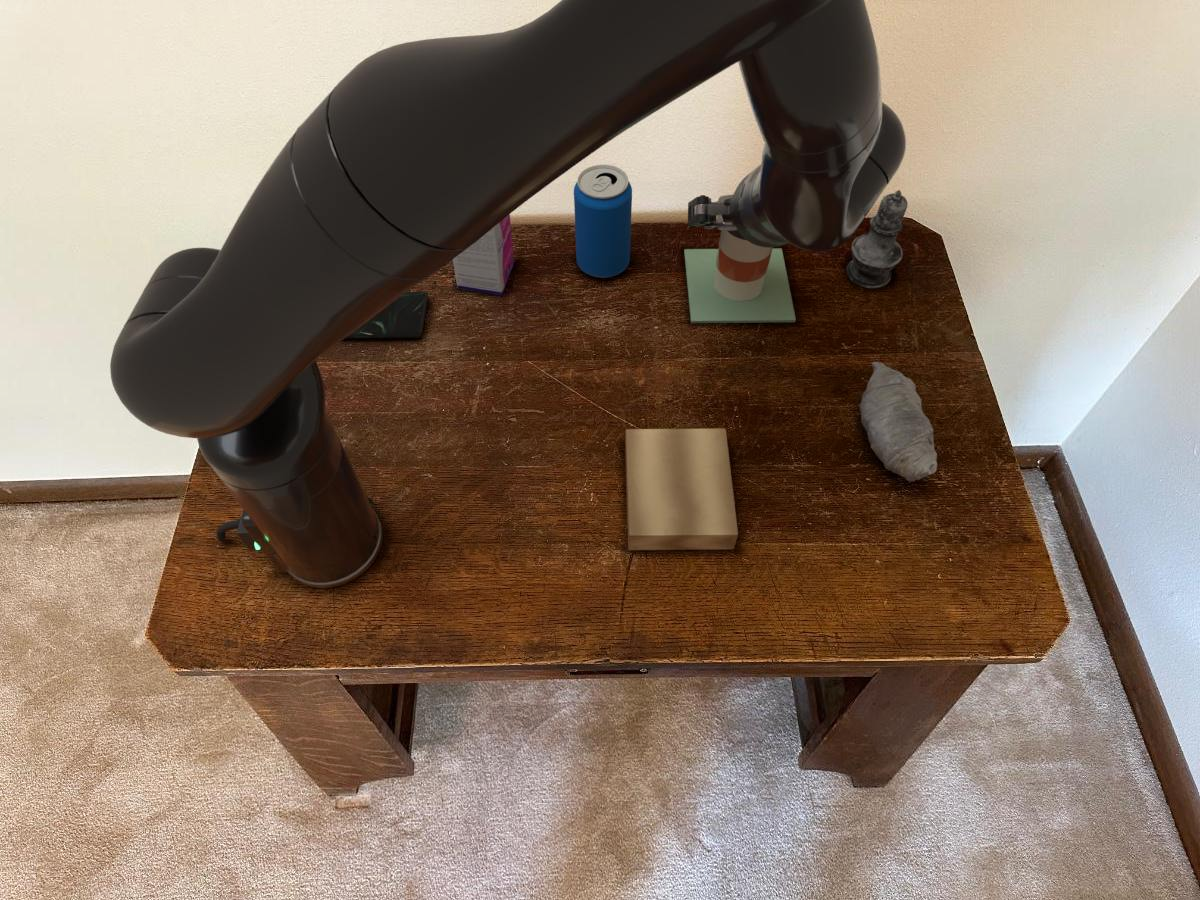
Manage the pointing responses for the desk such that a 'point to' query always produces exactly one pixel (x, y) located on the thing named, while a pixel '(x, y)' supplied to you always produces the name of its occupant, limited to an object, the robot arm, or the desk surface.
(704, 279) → the mat
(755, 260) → the jar
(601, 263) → the beverage can
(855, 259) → the grey tiered tall piece
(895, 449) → the grey oval lump
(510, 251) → the supplement box
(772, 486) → the desk surface
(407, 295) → the smartphone
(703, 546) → the stand
